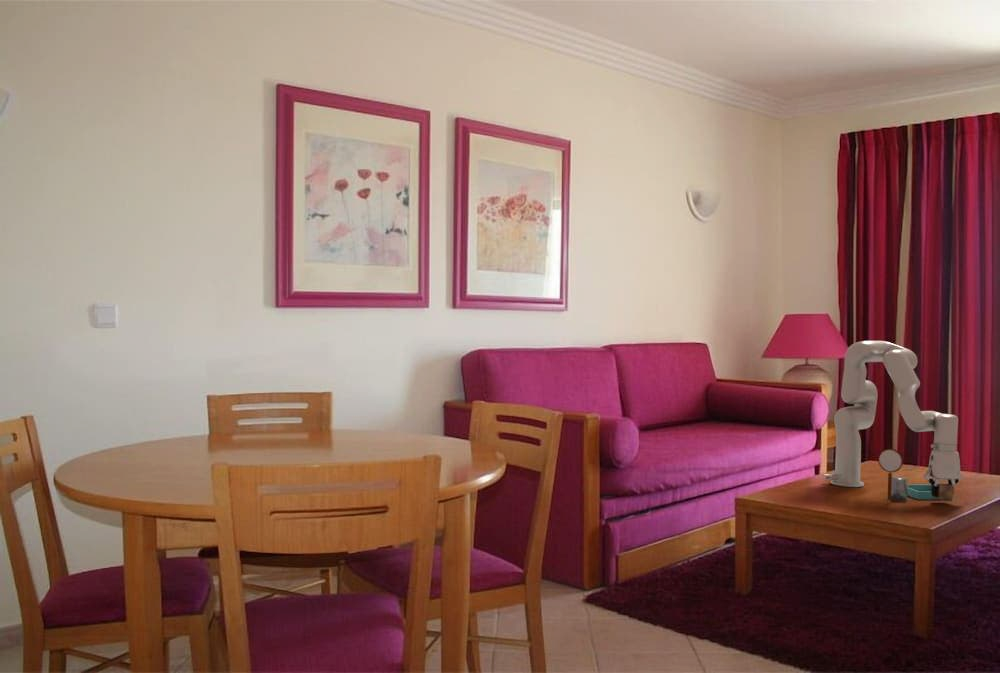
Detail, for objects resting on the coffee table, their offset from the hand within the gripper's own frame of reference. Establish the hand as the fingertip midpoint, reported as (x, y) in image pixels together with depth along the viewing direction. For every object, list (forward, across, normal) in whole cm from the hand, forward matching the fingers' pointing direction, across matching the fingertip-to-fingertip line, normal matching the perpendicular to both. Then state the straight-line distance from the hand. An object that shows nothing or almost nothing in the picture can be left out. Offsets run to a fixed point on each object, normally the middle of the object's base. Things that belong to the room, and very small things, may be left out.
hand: (942, 495), depth 329 cm
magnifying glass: (+3, -20, +1) cm, 20 cm away
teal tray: (+3, +1, +13) cm, 14 cm away
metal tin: (+3, -13, +7) cm, 15 cm away
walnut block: (+1, 0, 0) cm, 1 cm away
